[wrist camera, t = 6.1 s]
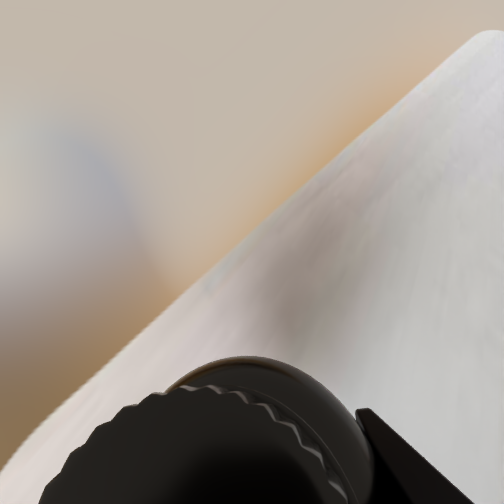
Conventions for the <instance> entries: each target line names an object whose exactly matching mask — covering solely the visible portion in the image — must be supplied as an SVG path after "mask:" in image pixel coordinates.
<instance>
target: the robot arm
mask: <svg viewBox="0 0 504 504" xmlns="http://www.w3.org/2000/svg"><path fill="white" fill-rule="evenodd" d="M355 415H356V422H357V423H358V425H359V426H360V427H361V429H362V430H363V432H364V434H365V435H366V437H367V439H368V441H369V442H370V444H371V446H372V448H373V450H374V452H375V454H376V456H377V458H378V460H379V462H380V464H381V467H382V469H383V472H384V474H385V477H386V479H387V482H388V485H389V488H390V491H391V494H392V497H393V500H394V503H395V504H474V503H473V502H472V501H471V500H470V499H469V498H467V497H466V496H465V495H464V494H463V493H462V492H461V491H460V490H459V489H458V488H457V487H455V486H454V485H453V484H452V483H451V482H450V481H449V480H448V479H447V478H446V477H444V476H443V475H442V474H441V473H440V472H439V471H438V470H437V469H436V468H435V467H434V466H432V465H431V464H430V463H429V462H428V461H427V460H426V459H425V458H424V457H423V456H421V455H420V454H419V453H418V452H417V451H416V450H415V449H414V448H413V447H412V446H410V445H409V444H408V443H407V442H406V441H405V440H404V439H403V438H402V437H401V436H400V435H398V434H397V433H396V432H395V431H394V430H393V429H392V428H391V427H390V426H389V425H387V424H386V423H385V422H384V421H383V420H382V419H381V418H380V417H379V416H378V415H377V414H375V413H374V412H373V411H372V410H371V409H369V408H362V409H357V410H356V411H355Z"/></svg>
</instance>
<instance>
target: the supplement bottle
mask: <svg viewBox="0 0 504 504" xmlns="http://www.w3.org/2000/svg"><path fill="white" fill-rule="evenodd" d="M38 504H395V503H394V500H393V497H392V494H391V491H390V488H389V485H388V482H387V479H386V477H385V474H384V472H383V469H382V467H381V464H380V462H379V460H378V458H377V456H376V454H375V452H374V450H373V448H372V446H371V444H370V442H369V441H368V439H367V437H366V435H365V434H364V432H363V430H362V429H361V427H360V426H359V425H358V423H357V422H356V420H355V419H354V417H353V416H352V415H351V414H350V412H349V411H348V410H347V409H346V408H345V406H344V405H343V404H342V403H341V402H340V401H339V400H338V399H337V398H336V397H335V396H334V395H333V394H332V393H331V392H330V391H329V390H328V389H327V388H325V387H324V386H323V385H322V384H321V383H319V382H318V381H317V380H315V379H314V378H312V377H311V376H310V375H308V374H306V373H304V372H303V371H301V370H299V369H297V368H295V367H293V366H291V365H289V364H286V363H283V362H280V361H277V360H273V359H269V358H265V357H257V356H237V357H229V358H224V359H220V360H216V361H213V362H210V363H208V364H205V365H203V366H201V367H198V368H196V369H195V370H193V371H191V372H189V373H188V374H186V375H185V376H183V377H182V378H180V379H179V380H177V381H176V382H175V383H174V384H172V385H171V386H170V387H169V388H168V389H167V390H166V391H165V392H164V393H160V392H155V393H152V394H150V395H149V396H147V397H146V398H145V399H143V400H142V401H141V402H140V403H139V404H133V405H128V406H125V407H123V408H122V409H121V410H120V411H119V412H118V413H117V414H116V416H115V417H114V418H113V419H112V420H111V421H109V422H106V423H103V424H101V425H99V426H97V427H96V428H95V430H94V431H93V432H92V434H91V435H90V437H89V438H88V440H87V441H86V443H85V444H84V445H82V446H81V447H78V448H77V449H75V450H74V451H73V452H71V453H70V455H69V457H68V458H67V460H66V462H65V464H64V466H63V468H62V470H61V472H60V473H59V474H58V475H57V476H56V477H55V478H53V479H52V480H51V481H50V482H49V483H48V484H47V485H46V486H45V489H44V491H43V493H42V496H41V498H40V501H39V503H38Z"/></svg>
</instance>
